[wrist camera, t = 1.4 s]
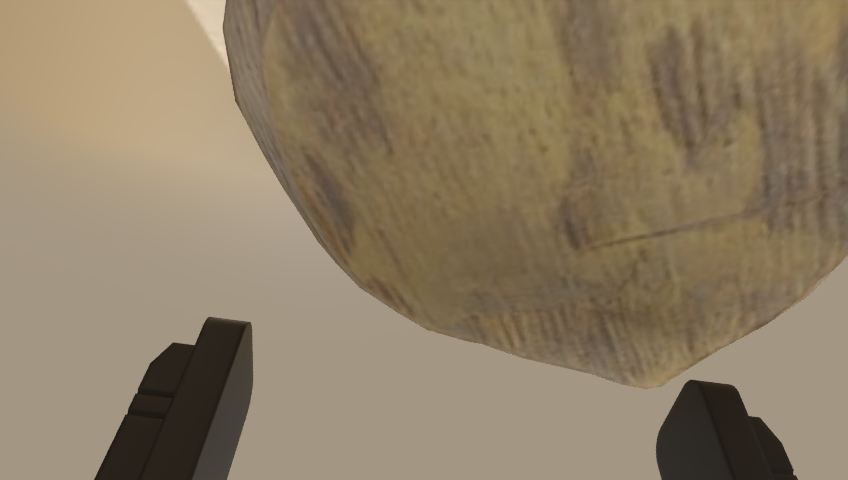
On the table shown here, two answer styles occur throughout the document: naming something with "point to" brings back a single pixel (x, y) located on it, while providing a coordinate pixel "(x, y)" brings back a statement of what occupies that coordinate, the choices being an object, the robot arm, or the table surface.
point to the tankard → (561, 163)
